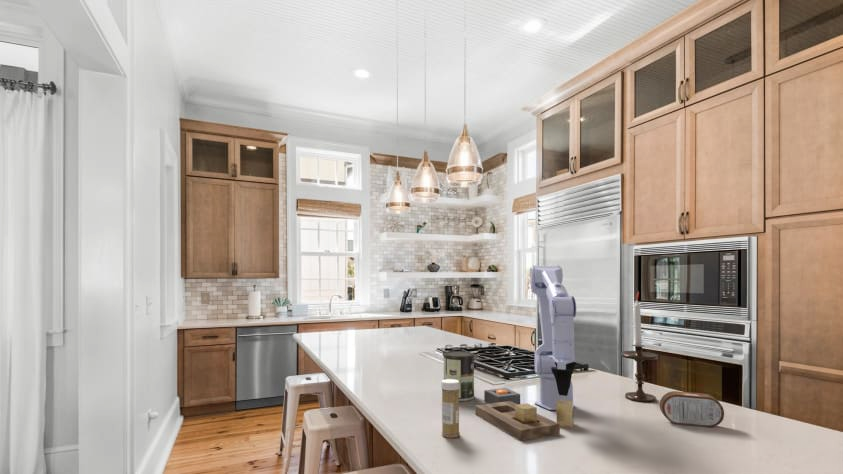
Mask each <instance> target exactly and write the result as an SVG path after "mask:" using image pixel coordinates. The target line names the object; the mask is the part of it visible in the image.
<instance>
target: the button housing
mask: <svg viewBox="0 0 843 474" xmlns="http://www.w3.org/2000/svg"><path fill="white" fill-rule="evenodd" d="M500 389H502V390H507V391H508V394H502V395H499V394H497V393H496V390H500ZM483 399H484V401H485V403H486V402H487V403H486V404H490V403H498V402H506V401H512V402H514V403H516V404H518V405H519V404H521V394H520V393H519V392H516V391H514V390H511V389H509V388H507V387H503V388H501V387H500V388H492V389H485V390H484V398H483Z"/></svg>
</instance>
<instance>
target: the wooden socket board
mask: <svg viewBox="0 0 843 474" xmlns="http://www.w3.org/2000/svg"><path fill="white" fill-rule="evenodd" d="M515 405H518V404H516V403H514V402H512V401H506V402H498V403H490V404H488V403H485V404H477V405H474V408H475V409H474V412H475V413H474V414H475V415H476V416H477V417H479V418H481V419H482V418H483V419H482V420H485V422H488V423H489V424H491V425H493V426H495V427H496V428H498V429H500V430H502V432H504V433H506V434H507V435H510V436H511V437H512V438H515V439H517V441H519V442H521V441H527V440H533V439H539V438H540V439H541V438H544V437H545V438H546V437H550V436H556V435H560V434H561V427H560V424H559V423H557V421H555V420H552V419H550V418H548V417H546V416H543V415H541V414H539V413H537V422H536V423H529V424H522V423H520V422H518V421H516V420H515Z"/></svg>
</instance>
